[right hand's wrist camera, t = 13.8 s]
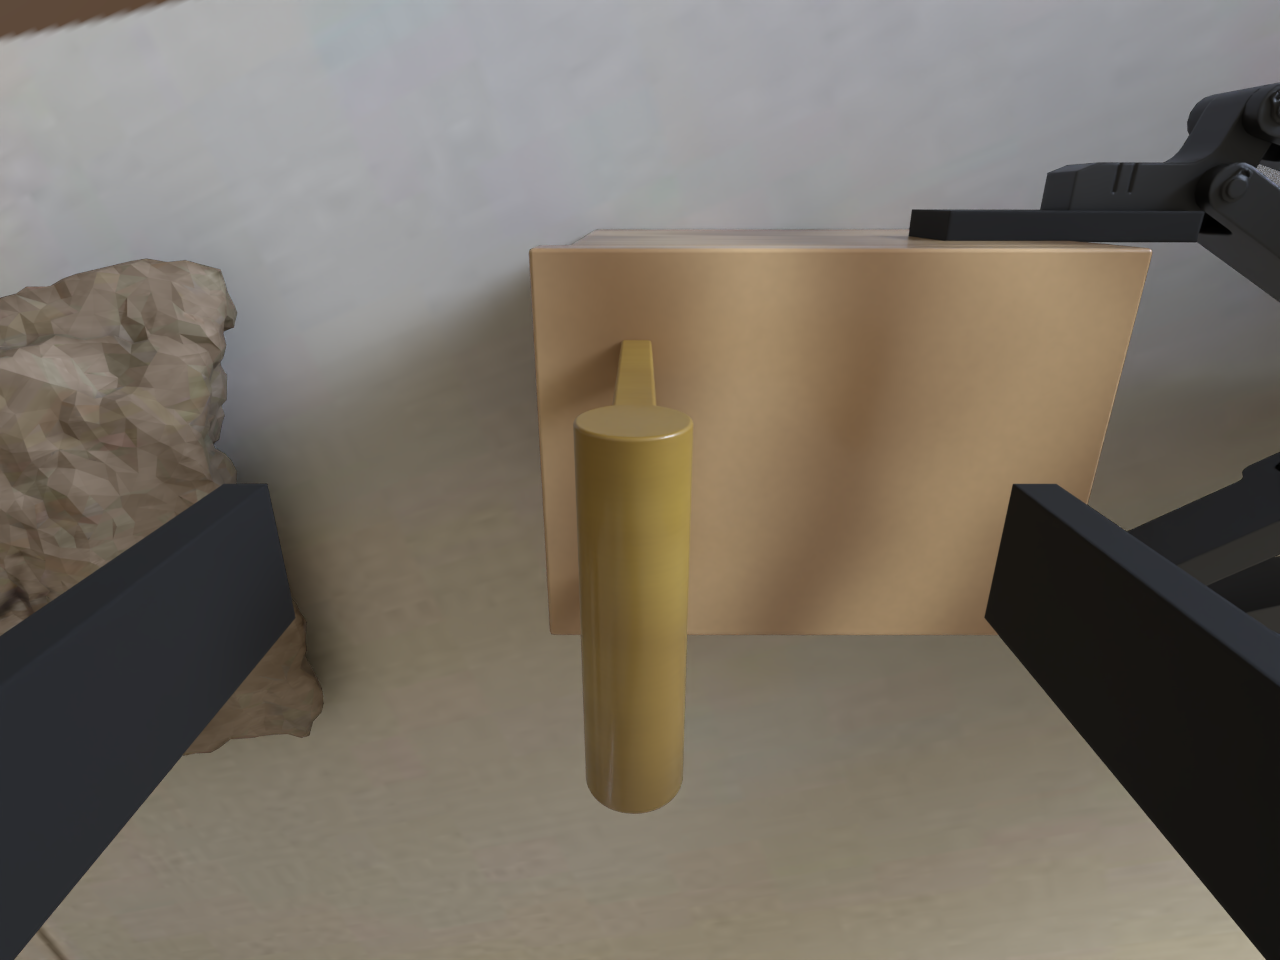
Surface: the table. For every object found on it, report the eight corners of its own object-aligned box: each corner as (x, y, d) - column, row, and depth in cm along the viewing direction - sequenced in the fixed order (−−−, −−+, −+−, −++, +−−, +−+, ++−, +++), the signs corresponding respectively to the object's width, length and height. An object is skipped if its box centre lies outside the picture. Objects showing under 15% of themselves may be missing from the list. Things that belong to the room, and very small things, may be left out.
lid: (554, 611, 20) (495, 896, 12) (535, 245, 16) (429, 289, 8) (1031, 611, 20) (1304, 897, 12) (1119, 245, 16) (1604, 289, 8)
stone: (-263, 255, 23) (-464, 312, 18) (237, 240, 26) (186, 285, 21) (22, 704, 34) (-53, 818, 29) (349, 656, 37) (334, 751, 32)
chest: (600, 480, 29) (582, 610, 20) (595, 229, 26) (569, 244, 16) (906, 480, 29) (1030, 610, 20) (945, 229, 26) (1118, 245, 16)
